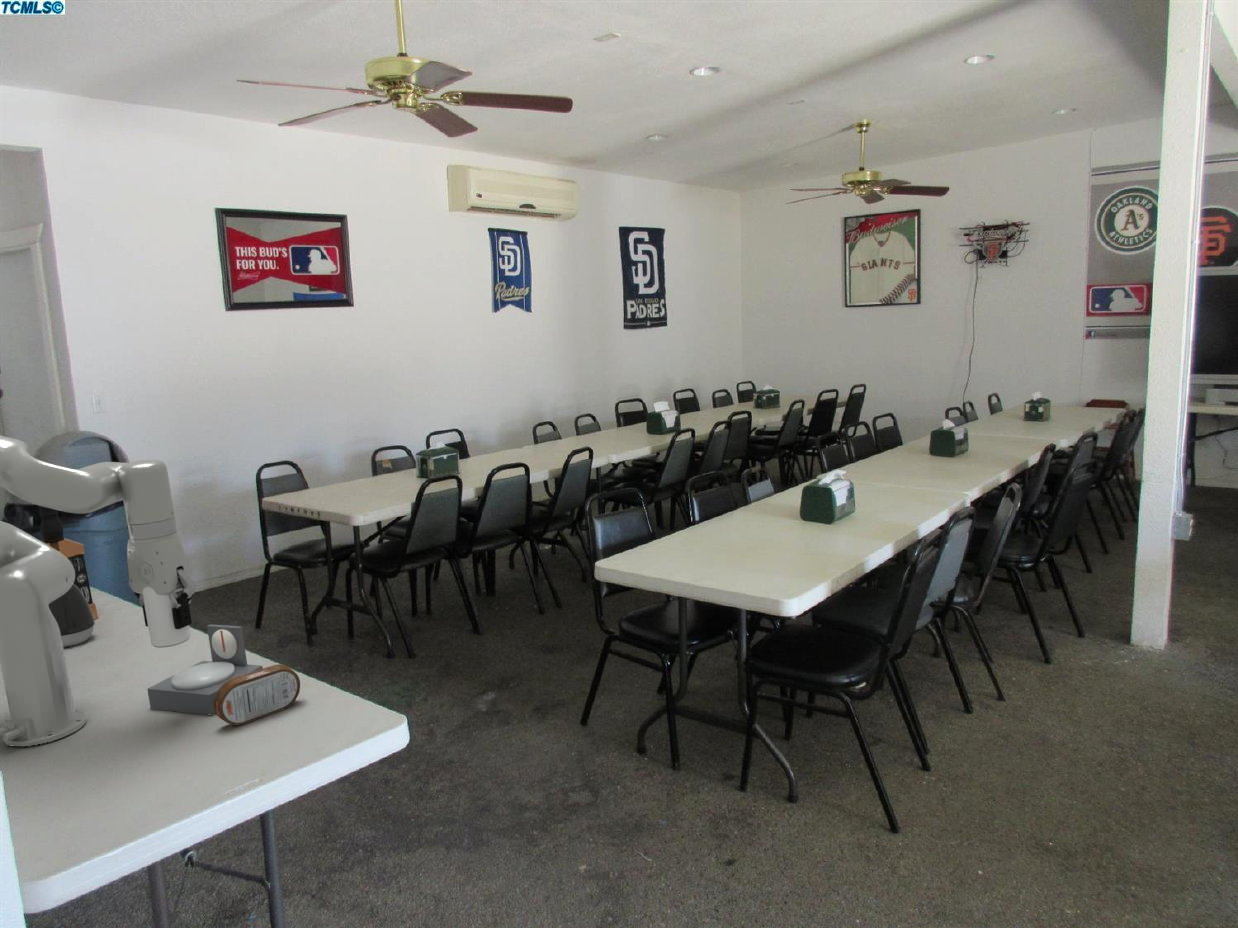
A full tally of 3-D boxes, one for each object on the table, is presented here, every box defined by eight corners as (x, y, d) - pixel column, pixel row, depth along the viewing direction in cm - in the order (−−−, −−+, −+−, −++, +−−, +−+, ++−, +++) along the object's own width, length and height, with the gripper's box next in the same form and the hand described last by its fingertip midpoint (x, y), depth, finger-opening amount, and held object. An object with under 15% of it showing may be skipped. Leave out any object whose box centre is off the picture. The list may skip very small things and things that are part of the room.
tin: (298, 699, 163) (292, 657, 161) (305, 703, 161) (299, 661, 159) (216, 729, 152) (209, 684, 151) (222, 734, 150) (215, 688, 149)
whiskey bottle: (101, 617, 222) (80, 496, 217) (69, 631, 213) (46, 505, 208) (68, 616, 225) (46, 497, 220) (35, 630, 215) (11, 505, 210)
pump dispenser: (37, 648, 202) (25, 586, 199) (82, 633, 211) (72, 573, 208) (61, 653, 197) (49, 590, 194) (106, 638, 206) (95, 577, 203)
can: (182, 632, 161) (172, 571, 159) (196, 639, 157) (186, 576, 155) (145, 643, 156) (135, 580, 154) (159, 651, 152) (148, 585, 150)
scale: (212, 715, 158) (203, 653, 156) (150, 708, 163) (140, 648, 161) (264, 684, 171) (256, 627, 169) (205, 679, 176) (197, 623, 174)
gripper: (99, 533, 153) (116, 629, 156) (170, 536, 146) (186, 636, 149) (136, 523, 160) (152, 615, 163) (206, 525, 153) (221, 621, 156)
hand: (168, 624), depth 156 cm, fingers closed on can, 6 cm apart
